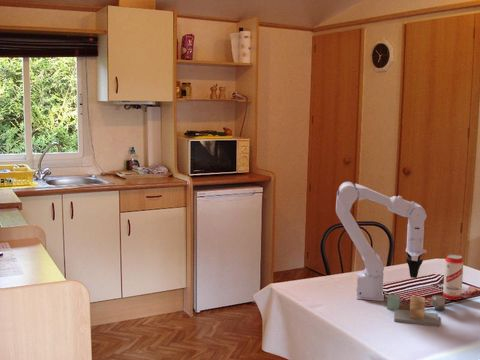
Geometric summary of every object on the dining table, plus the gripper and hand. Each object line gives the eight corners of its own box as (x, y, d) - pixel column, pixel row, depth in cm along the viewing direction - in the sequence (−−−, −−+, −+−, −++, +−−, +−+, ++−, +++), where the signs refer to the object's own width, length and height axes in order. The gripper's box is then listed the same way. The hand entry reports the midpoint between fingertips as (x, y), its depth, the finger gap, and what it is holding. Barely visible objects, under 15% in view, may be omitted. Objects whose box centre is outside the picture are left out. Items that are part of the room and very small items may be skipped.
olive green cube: (387, 309, 192) (387, 298, 191) (387, 304, 196) (387, 294, 195) (399, 310, 191) (399, 299, 190) (399, 305, 194) (399, 295, 194)
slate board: (394, 321, 182) (394, 318, 181) (394, 311, 189) (394, 309, 189) (438, 326, 178) (439, 323, 178) (437, 316, 185) (437, 313, 185)
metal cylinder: (431, 310, 190) (432, 299, 190) (430, 305, 194) (431, 294, 194) (444, 311, 189) (445, 300, 188) (443, 306, 193) (444, 296, 193)
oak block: (409, 318, 182) (410, 300, 181) (409, 312, 186) (410, 295, 185) (423, 319, 180) (424, 302, 179) (423, 314, 185) (424, 297, 184)
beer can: (462, 302, 197) (465, 259, 194) (444, 300, 198) (446, 258, 195) (459, 295, 203) (462, 254, 200) (441, 294, 204) (444, 253, 201)
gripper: (427, 244, 189) (425, 281, 191) (426, 233, 202) (424, 268, 205) (406, 242, 191) (404, 279, 193) (406, 231, 204) (404, 266, 207)
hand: (413, 273), depth 199 cm, fingers open, 7 cm apart
